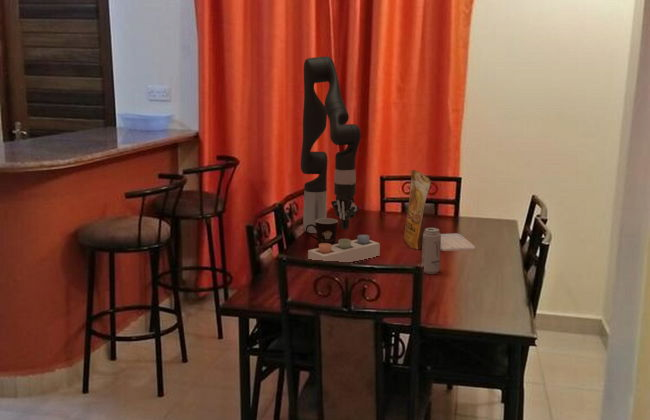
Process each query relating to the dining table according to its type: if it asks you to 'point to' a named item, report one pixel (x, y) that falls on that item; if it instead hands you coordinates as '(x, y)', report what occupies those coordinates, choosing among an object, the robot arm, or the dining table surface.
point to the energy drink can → (431, 250)
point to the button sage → (344, 244)
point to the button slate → (363, 239)
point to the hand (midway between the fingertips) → (344, 229)
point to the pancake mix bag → (416, 209)
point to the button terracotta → (324, 248)
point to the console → (347, 252)
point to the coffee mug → (325, 230)
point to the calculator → (455, 243)
